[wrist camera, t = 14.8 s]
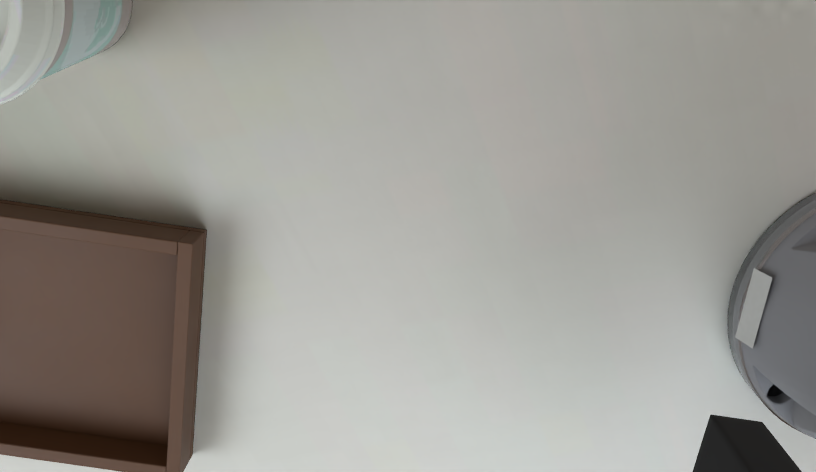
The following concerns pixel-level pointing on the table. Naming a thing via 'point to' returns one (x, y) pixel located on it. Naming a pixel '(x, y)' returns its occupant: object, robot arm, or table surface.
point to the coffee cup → (53, 37)
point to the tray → (98, 338)
